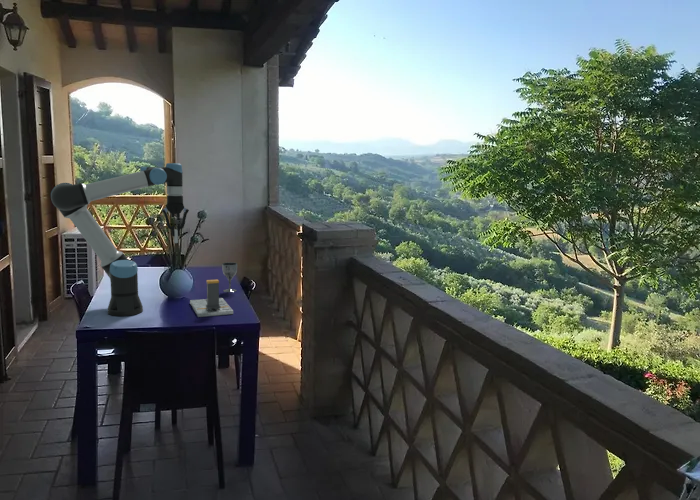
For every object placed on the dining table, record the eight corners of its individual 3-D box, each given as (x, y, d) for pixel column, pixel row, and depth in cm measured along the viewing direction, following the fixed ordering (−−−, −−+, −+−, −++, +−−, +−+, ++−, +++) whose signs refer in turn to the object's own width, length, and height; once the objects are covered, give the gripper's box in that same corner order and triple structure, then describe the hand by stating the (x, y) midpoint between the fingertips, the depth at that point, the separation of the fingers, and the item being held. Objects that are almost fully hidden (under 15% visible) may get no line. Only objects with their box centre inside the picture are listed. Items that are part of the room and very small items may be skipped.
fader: (207, 309, 264) (207, 282, 262) (205, 306, 269) (205, 279, 267) (220, 307, 267) (220, 281, 265) (218, 305, 271) (218, 279, 269)
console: (198, 317, 258) (198, 313, 258) (190, 303, 282) (189, 300, 282) (233, 314, 265) (233, 310, 264) (222, 300, 288) (222, 297, 288)
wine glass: (233, 292, 306) (233, 265, 303) (220, 291, 307) (219, 264, 305) (239, 289, 314) (239, 262, 311) (226, 288, 315) (225, 262, 313)
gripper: (187, 194, 285) (188, 241, 289) (160, 194, 280) (161, 242, 283) (189, 195, 278) (190, 243, 282) (161, 195, 273) (163, 244, 277)
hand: (176, 242), depth 283 cm, fingers closed
